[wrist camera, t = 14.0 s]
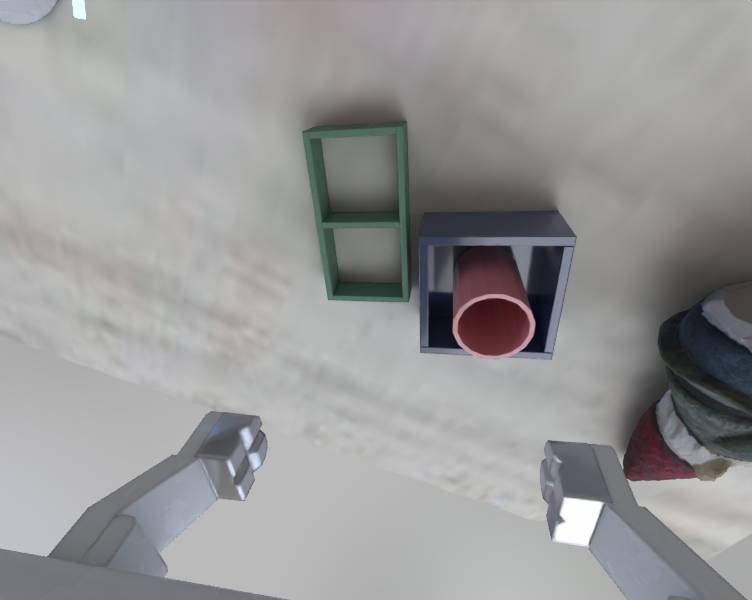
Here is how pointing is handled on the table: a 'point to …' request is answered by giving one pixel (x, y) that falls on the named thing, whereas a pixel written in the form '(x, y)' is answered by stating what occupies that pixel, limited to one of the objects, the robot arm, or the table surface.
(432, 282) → the navy blue open box
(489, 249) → the cup
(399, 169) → the rack
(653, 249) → the table surface
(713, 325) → the figurine
